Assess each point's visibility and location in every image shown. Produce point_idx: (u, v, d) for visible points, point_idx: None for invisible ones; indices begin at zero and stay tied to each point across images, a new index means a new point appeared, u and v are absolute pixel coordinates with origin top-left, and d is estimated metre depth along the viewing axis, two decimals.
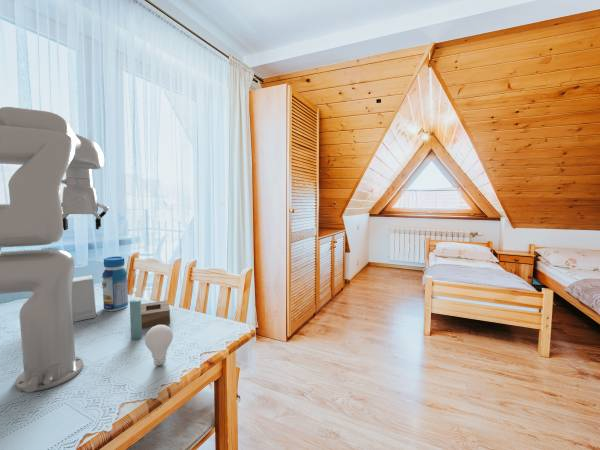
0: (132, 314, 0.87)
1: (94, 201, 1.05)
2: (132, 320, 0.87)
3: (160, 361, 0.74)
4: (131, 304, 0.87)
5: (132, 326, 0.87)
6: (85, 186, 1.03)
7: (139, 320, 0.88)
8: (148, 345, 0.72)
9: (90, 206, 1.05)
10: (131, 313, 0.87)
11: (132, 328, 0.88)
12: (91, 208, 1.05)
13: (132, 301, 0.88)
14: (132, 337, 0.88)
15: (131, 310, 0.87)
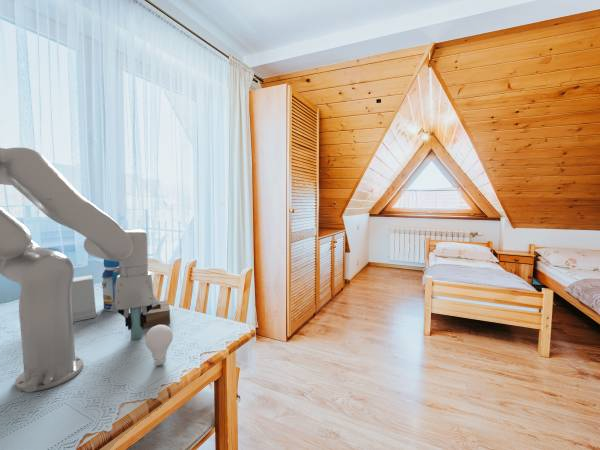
0: (132, 314, 0.87)
1: (151, 290, 0.88)
2: (132, 320, 0.87)
3: (160, 361, 0.74)
4: None
5: (132, 326, 0.87)
6: (142, 274, 0.86)
7: (139, 320, 0.88)
8: (148, 345, 0.72)
9: (147, 297, 0.87)
10: (131, 313, 0.87)
11: (132, 328, 0.88)
12: (148, 299, 0.87)
13: None
14: (132, 337, 0.88)
15: (131, 310, 0.87)
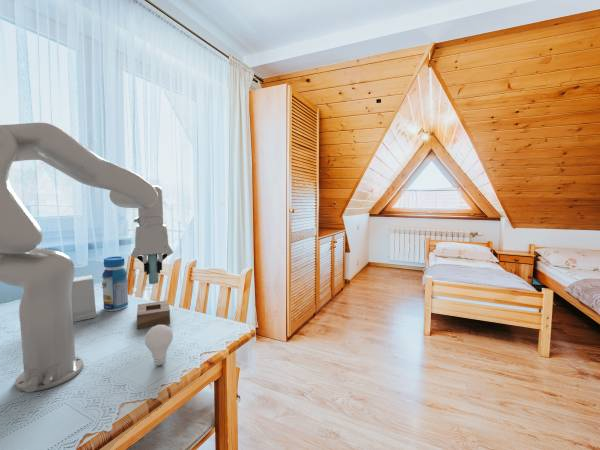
0: (150, 260, 0.98)
1: (166, 240, 0.98)
2: (150, 266, 0.98)
3: (160, 361, 0.74)
4: None
5: (149, 271, 0.98)
6: (158, 225, 0.96)
7: (156, 266, 0.99)
8: (148, 345, 0.72)
9: (163, 245, 0.98)
10: (149, 259, 0.98)
11: (150, 273, 0.98)
12: (164, 247, 0.98)
13: None
14: (150, 281, 0.99)
15: (149, 257, 0.98)
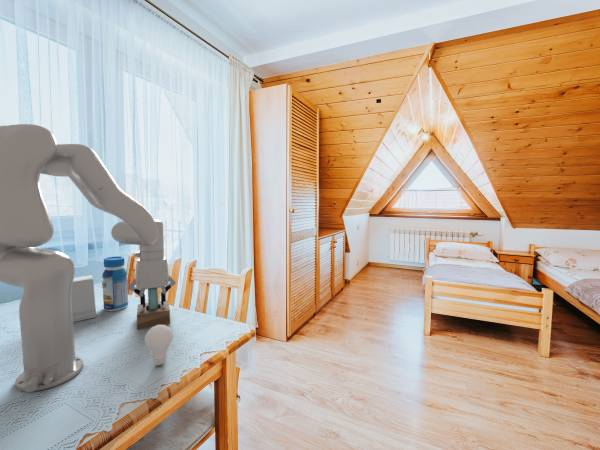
0: (150, 299, 0.99)
1: (167, 273, 0.99)
2: (150, 304, 0.99)
3: (160, 361, 0.74)
4: (149, 290, 0.98)
5: (150, 309, 0.99)
6: (159, 259, 0.97)
7: (156, 304, 1.00)
8: (148, 345, 0.72)
9: (163, 279, 0.99)
10: (149, 298, 0.99)
11: None
12: (164, 281, 0.99)
13: None
14: None
15: (149, 296, 0.99)
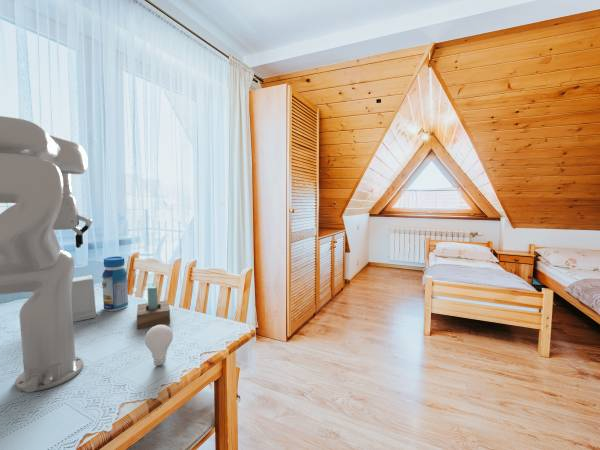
0: (150, 299, 0.99)
1: (73, 213, 0.85)
2: (150, 304, 0.99)
3: (160, 361, 0.74)
4: (149, 290, 0.98)
5: None
6: None
7: (156, 304, 1.00)
8: (148, 345, 0.72)
9: (68, 219, 0.84)
10: (149, 298, 0.99)
11: None
12: (70, 222, 0.84)
13: (150, 288, 0.99)
14: None
15: (149, 296, 0.99)
